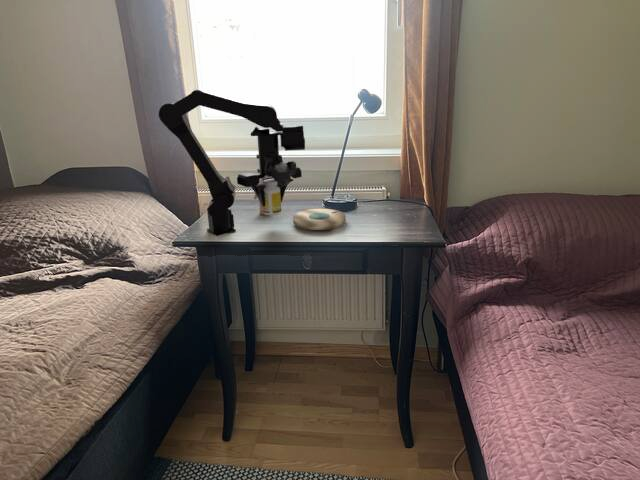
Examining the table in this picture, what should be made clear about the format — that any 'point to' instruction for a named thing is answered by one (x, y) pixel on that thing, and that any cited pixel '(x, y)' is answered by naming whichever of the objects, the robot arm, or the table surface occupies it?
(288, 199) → the table surface
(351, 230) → the table surface
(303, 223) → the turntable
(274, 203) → the supplement bottle
